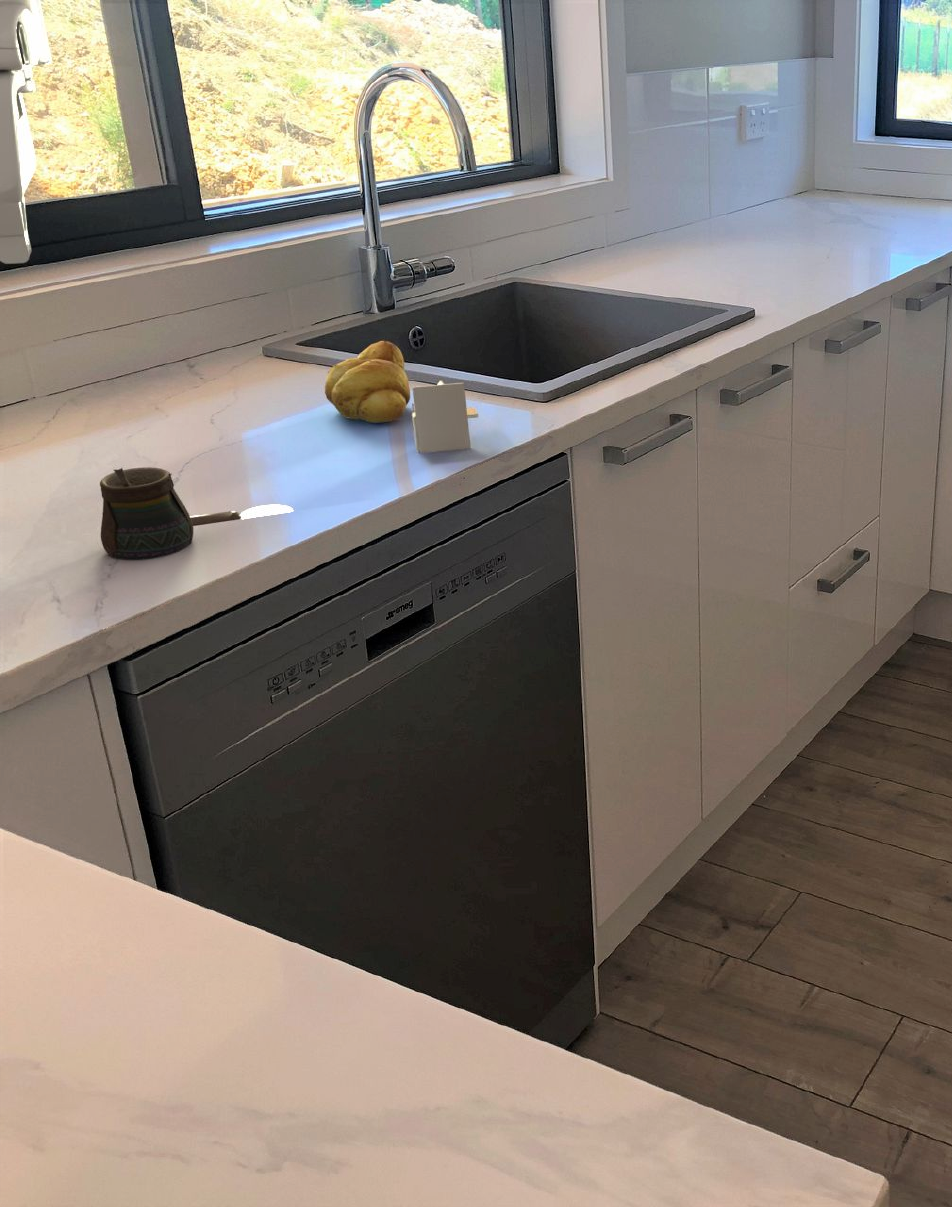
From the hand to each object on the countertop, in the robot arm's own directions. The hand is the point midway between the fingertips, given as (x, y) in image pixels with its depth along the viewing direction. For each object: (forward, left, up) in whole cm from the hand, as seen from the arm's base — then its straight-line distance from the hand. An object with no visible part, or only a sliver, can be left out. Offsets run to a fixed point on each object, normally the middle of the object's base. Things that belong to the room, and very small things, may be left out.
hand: (16, 260), depth 87 cm
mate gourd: (+4, +17, -29) cm, 34 cm away
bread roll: (+29, +58, -29) cm, 71 cm away
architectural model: (+34, +41, -29) cm, 61 cm away
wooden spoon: (+9, +24, -29) cm, 39 cm away
